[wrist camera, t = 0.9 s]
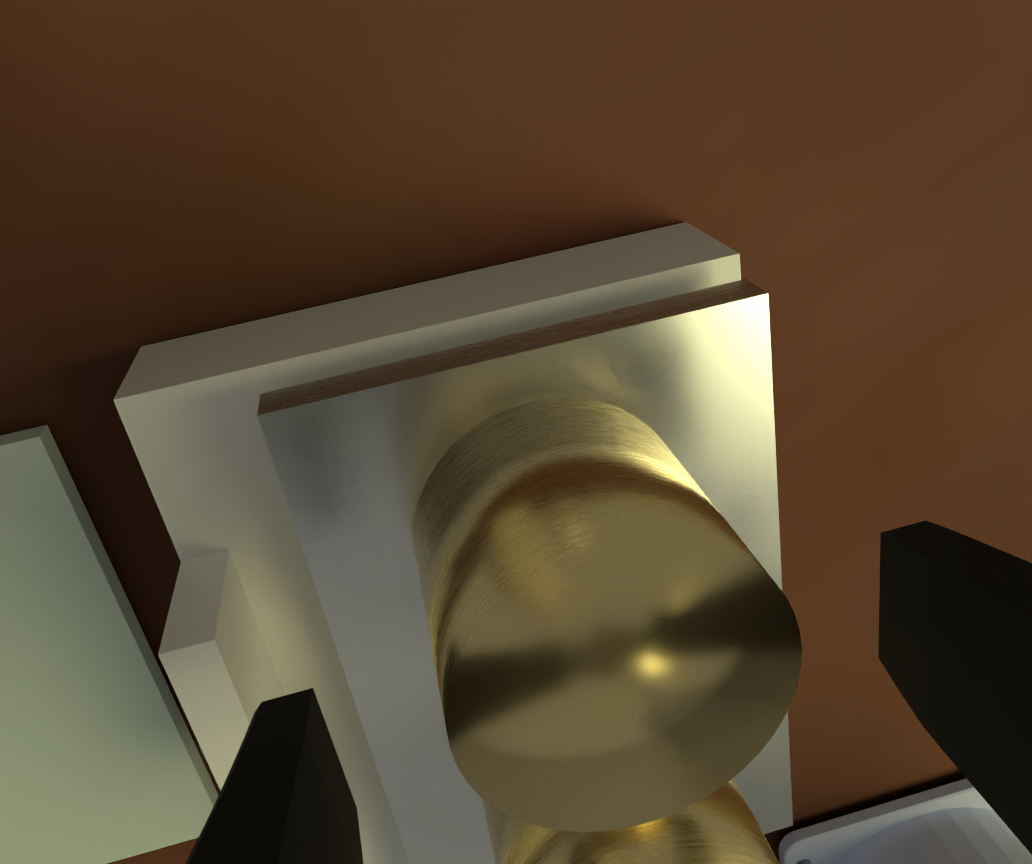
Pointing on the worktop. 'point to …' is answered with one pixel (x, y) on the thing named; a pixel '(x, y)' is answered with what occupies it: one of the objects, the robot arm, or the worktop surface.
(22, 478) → the rubber mat
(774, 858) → the brass weight
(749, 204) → the worktop surface
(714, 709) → the cylinder
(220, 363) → the scale
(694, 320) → the scale pan
